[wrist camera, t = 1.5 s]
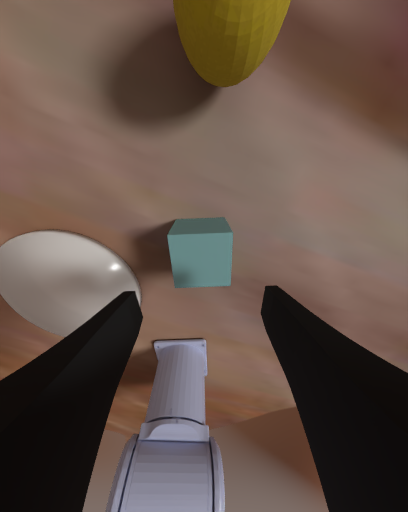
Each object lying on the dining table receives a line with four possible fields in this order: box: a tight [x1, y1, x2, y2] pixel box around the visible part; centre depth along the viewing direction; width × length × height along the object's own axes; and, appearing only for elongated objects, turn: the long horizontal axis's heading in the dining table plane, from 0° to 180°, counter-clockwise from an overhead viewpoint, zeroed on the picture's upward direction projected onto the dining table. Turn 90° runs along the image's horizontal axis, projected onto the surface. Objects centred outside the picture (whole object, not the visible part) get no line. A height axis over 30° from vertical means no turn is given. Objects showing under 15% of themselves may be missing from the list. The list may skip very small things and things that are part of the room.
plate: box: [0, 229, 142, 337], centre depth 20 cm, size 16×16×1 cm
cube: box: [167, 217, 233, 288], centre depth 15 cm, size 5×5×5 cm
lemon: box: [173, 0, 291, 87], centre depth 8 cm, size 6×6×8 cm
